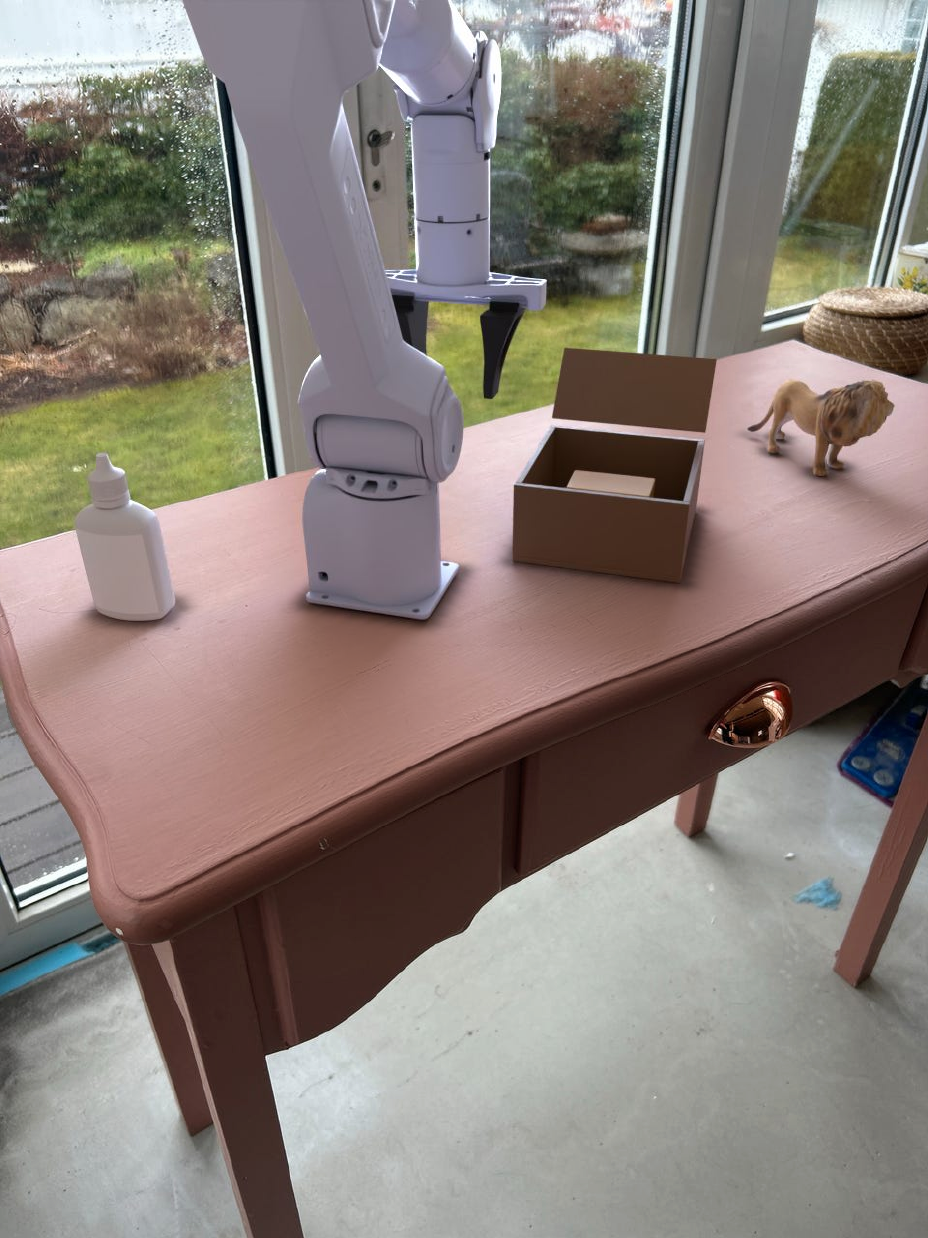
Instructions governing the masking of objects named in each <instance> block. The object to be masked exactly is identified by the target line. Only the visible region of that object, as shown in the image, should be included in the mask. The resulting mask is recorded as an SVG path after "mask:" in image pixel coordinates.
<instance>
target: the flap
mask: <svg viewBox="0 0 928 1238" xmlns="http://www.w3.org/2000/svg"><path fill="white" fill-rule="evenodd" d="M561 358H562V359H561V362H560V369H559V375H558V379H557V386H556V392H555V397H554V402H553V408H552V415H551V419H553V420H554V419H555V420H565V421H575V422H584V423H585V422H586V423H596V424H606V425H617V426H618V425H619V426H629V427H639V428H650V429H661V430H673V431H683V432H691V433H702V434H705V433H706V432H707V425H708V419H709V412H710V406H711V399H712V393H713V386H714V381H715V373H716V367H717V362H718V359H717V358H711V357H709V358H707V357H696V356H682V355H669V354H668V355H667V354H656V353H642V352H630V351H629V352H628V351H616V350H615V351H614V350H603V349H602V350H601V349H587V348H573V347H563V352H562V357H561Z"/></svg>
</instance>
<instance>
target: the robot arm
mask: <svg viewBox="0 0 928 1238" xmlns="http://www.w3.org/2000/svg"><path fill="white" fill-rule="evenodd" d="M181 1H182V4H183V7H184V9H185V12H186V14H187V17H188V20H189V23H190V26H191V28H192V31H193V34H194V37H195V40H196V42H197V45H198V47H199V51H200V53H201V57H202V58H203V61H204V64H205V66H206V68H207V71H208V72H210V73H211V74H212V75H213V76H214V77H216V78H217V79H219V80H220V81H221V82H222V83H223V84H224V85H225V88H226V92H227V96H228V99H229V103H230V107H231V110H232V113H233V115H234V118H235V122H236V125H237V127H238V130H239V133H240V136H241V138H242V142H243V144H244V147H245V149H246V153H247V155H248V159H249V161H250V164H251V166H252V169H253V172H254V175H255V178H256V180H257V183H258V185H259V188H260V192H261V194H262V197H263V200H264V203H265V205H266V208H267V211H268V214H269V216H270V217H269V218H270V219H271V222H272V226H273V228H274V230H275V233H276V236H277V238H278V241H279V244H280V248H281V251H282V253H283V256H284V258H285V261H286V264H287V266H288V269H289V272H290V275H291V277H292V280H293V282H294V286H295V288H296V291H297V294H298V297H299V300H300V302H301V303H300V304H301V305H302V308H303V311H304V314H305V316H306V319H307V322H308V325H309V327H310V331H311V334H312V336H313V339H314V341H315V344H316V347H317V350H318V353H319V356H318V357H316V359H315V360H314V361H313V362H312V363H311V365H310V367H308V370H307V372H306V374H305V376H304V379H303V381H302V383H301V387H300V391H299V395H298V400H297V405H298V408H299V410H300V415H301V418H302V425H303V427H302V428H303V431H302V432H303V440H304V446H305V448H306V451H307V453H308V455H309V457H310V459H311V462H313V464H314V466H316V467H317V468H318V469H320V470H317V471H316V472H315V474H314V475H313V476H312V477H311V478H310V481H309V483H308V485H307V486H306V489H305V492H304V497H303V503H302V513H301V514H302V515H301V517H302V518H301V519H302V531H303V532H302V533H303V540H304V549H305V557H306V566H307V575H308V585H309V591H308V592H307V593H306V595H305V599H306V602H308V603H310V604H317V605H324V606H331V607H337V608H342V609H343V608H344V609H350V610H356V611H362V612H369V613H376V614H383V615H387V616H388V615H390V616H395V617H401V618H409V619H415V620H420V621H421V620H423V621H424V620H427V619H429V618H430V617H431V615H432V614H433V612H434V610H435V609H436V608H437V605H438V604H439V602H440V600H441V599H442V597H443V596H444V594H445V593H446V591H447V590H448V588H449V587H450V586H451V583H452V581H453V580H454V578H455V577H456V576H457V573H459V569H460V568H459V567H460V566H459V564H458V563H456V562H453V561H445V560H442V549H441V548H442V545H441V544H442V543H441V542H442V541H441V511H440V509H441V508H440V483H443V482H445V481H446V480H447V479H448V478H449V476H450V475H452V474H453V473H454V471H455V470H456V468H457V465H458V463H459V459H460V457H461V452H462V448H463V441H464V440H463V439H464V426H465V425H464V424H465V423H464V411H463V406H462V403H461V401H460V399H459V397H458V396H457V395H456V394H457V393H456V392H455V391H454V390H453V388H452V387H451V384H450V380H449V378H448V377H447V372H446V368H445V367H444V366H443V365H442V364H440V363H439V362H437V361H436V360H434V359H433V358H431V357H429V356H428V351H427V335H428V333H427V332H428V315H429V306H430V302H432V303H447V304H462V305H478V306H489V308H488V309H486V310H485V311H483V312H482V314H480V316H479V323H480V329H481V337H482V349H483V362H484V363H483V380H482V383H483V384H482V393H483V399H484V400H493V399H494V398H495V396H497V394H498V393H499V390H500V389H499V388H500V382H501V377H502V373H503V368H504V364H505V361H506V358H507V354H508V352H509V349H510V346H511V343H512V341H513V338H514V336H515V333H516V331H517V329H518V328H519V324H520V323H521V320H522V319H523V317H524V314H525V312H526V309H527V311H534V312H535V311H537V312H540V311H541V310H543V309H544V308H545V306H546V305H547V281H548V280H547V279H542V278H532V277H531V278H530V277H523V276H517V275H510V274H504V273H496V272H491V271H490V270H491V269H490V268H491V264H490V263H491V261H490V260H491V257H490V255H491V253H490V252H491V249H490V248H491V247H490V246H491V243H490V242H491V241H490V240H491V236H490V235H491V233H490V232H491V219H490V218H491V149H493V148H495V145H496V139H497V119H498V113H499V112H498V111H499V107H500V99H501V91H502V90H501V88H502V65H501V64H502V63H501V62H502V61H501V54H500V49H499V46H498V44H497V42H496V40H495V39H493V38H491V39H488V37H487V35H486V33H485V32H484V31H482V30H471V29H470V28H469V27H468V25H467V24H466V22H465V21H464V19H463V18H462V16H461V14H460V13H459V11H458V10H457V8H456V6H455V5H454V3H453V2H452V0H181ZM379 66H380V67H381V69H383V71H384V72H385V73H386V74H387V75H388V76H389V77H390V78H391V81H390V82H391V85H392V90H393V91H394V92H395V95H396V98H397V104H398V109H399V111H400V112H399V113H400V115H401V117H402V120H403V121H404V122H408V123H411V124H410V131H411V132H410V133H411V136H410V137H411V159H412V182H413V183H412V184H413V187H412V188H413V212H414V213H413V215H414V238H415V241H414V242H415V269H392V270H391V269H386V268H385V264H384V261H383V256H382V253H381V249H380V245H379V242H378V237H377V234H376V230H375V229H376V228H375V225H374V222H373V218H372V214H371V209H370V206H369V203H368V197H367V194H366V191H365V186H364V183H363V180H362V179H363V178H362V175H361V171H360V168H359V164H358V163H359V162H358V160H357V156H356V152H355V148H354V144H353V140H352V136H351V132H350V128H349V124H348V121H347V118H346V113H345V109H344V105H343V100H344V96H345V95H346V93H347V92H349V91H350V90H352V89H353V88H355V87H356V86H358V85H359V84H360V83H361V82H363V81H364V80H366V79H368V78H369V77H371V75H374V73H376V72H377V71H378V69H379Z"/></svg>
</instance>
